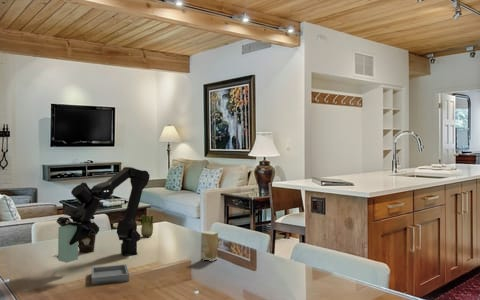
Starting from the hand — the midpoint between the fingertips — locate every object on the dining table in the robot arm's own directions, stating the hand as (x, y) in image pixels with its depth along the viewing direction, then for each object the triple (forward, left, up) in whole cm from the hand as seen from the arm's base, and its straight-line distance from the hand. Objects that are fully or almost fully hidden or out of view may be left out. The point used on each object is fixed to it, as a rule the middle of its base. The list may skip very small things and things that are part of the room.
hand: (65, 243), depth 154 cm
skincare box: (-58, -2, -12) cm, 59 cm away
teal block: (-1, -1, -7) cm, 7 cm away
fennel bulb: (-38, -56, -12) cm, 69 cm away
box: (-16, +8, -12) cm, 22 cm away
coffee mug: (-6, -35, -12) cm, 38 cm away
